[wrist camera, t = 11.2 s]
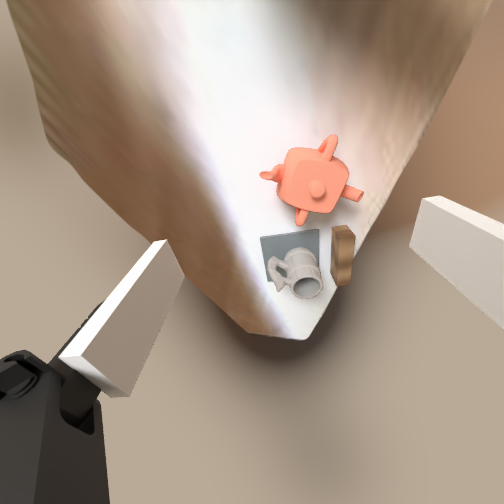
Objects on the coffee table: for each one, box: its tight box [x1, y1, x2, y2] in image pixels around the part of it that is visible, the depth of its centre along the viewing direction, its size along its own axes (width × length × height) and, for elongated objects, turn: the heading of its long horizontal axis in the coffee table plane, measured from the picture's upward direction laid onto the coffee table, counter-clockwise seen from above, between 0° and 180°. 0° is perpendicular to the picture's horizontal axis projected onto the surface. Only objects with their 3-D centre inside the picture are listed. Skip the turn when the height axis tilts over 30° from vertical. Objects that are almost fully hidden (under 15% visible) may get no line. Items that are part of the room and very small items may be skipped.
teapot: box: [259, 134, 364, 227], centre depth 35 cm, size 14×12×10 cm
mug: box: [267, 247, 323, 299], centre depth 44 cm, size 8×12×12 cm, turn 78°
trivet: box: [260, 229, 319, 281], centre depth 49 cm, size 13×13×1 cm
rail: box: [330, 225, 355, 286], centre depth 46 cm, size 13×3×5 cm, turn 10°
